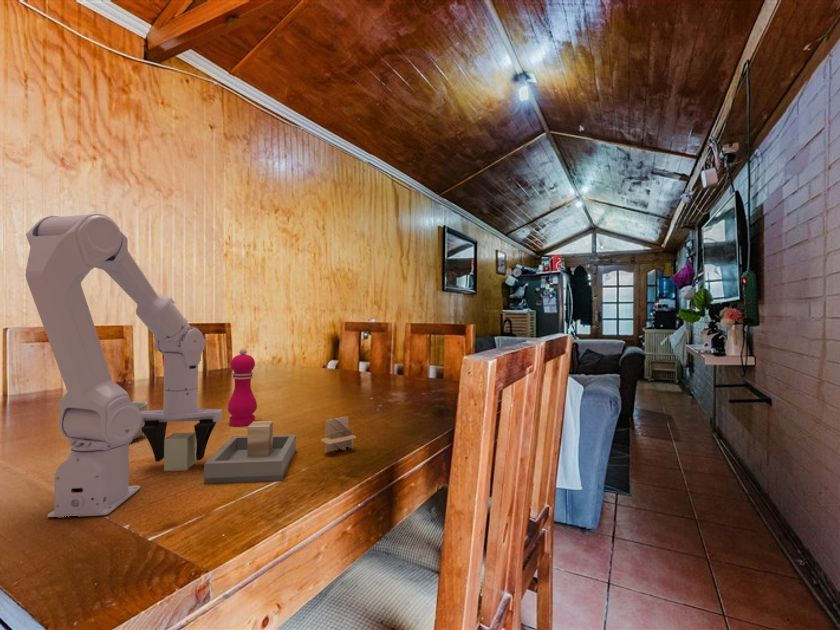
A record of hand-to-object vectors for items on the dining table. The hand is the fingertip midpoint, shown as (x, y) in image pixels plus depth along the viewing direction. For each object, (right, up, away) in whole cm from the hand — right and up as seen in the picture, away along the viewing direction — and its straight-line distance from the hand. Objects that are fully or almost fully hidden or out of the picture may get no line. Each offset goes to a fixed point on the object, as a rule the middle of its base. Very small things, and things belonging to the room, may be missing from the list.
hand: (180, 459), depth 80 cm
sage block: (0, -2, 0) cm, 2 cm away
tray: (+14, -2, +1) cm, 14 cm away
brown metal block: (+13, -1, +5) cm, 14 cm away
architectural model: (+29, -3, +10) cm, 30 cm away
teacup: (-23, -1, +17) cm, 28 cm away
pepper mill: (-1, -2, +31) cm, 31 cm away
